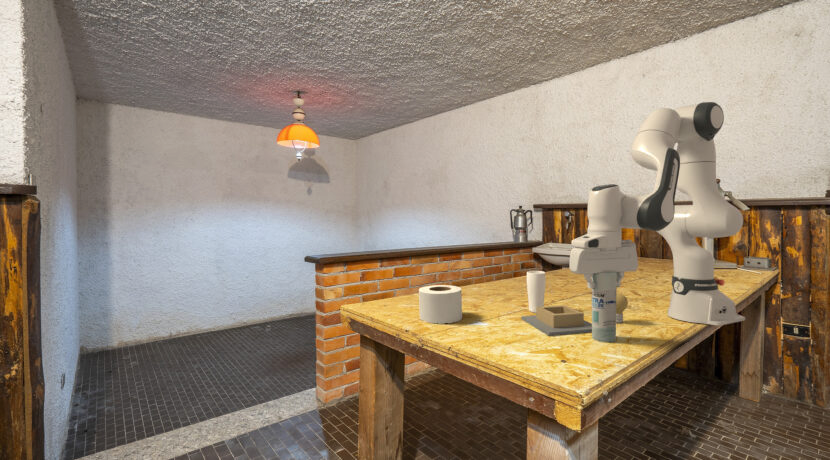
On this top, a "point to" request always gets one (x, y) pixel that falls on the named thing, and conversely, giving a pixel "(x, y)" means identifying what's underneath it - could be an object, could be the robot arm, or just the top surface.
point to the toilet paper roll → (440, 304)
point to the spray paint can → (604, 307)
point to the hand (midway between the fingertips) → (603, 287)
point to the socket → (558, 320)
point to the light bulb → (620, 306)
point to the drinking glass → (535, 289)
